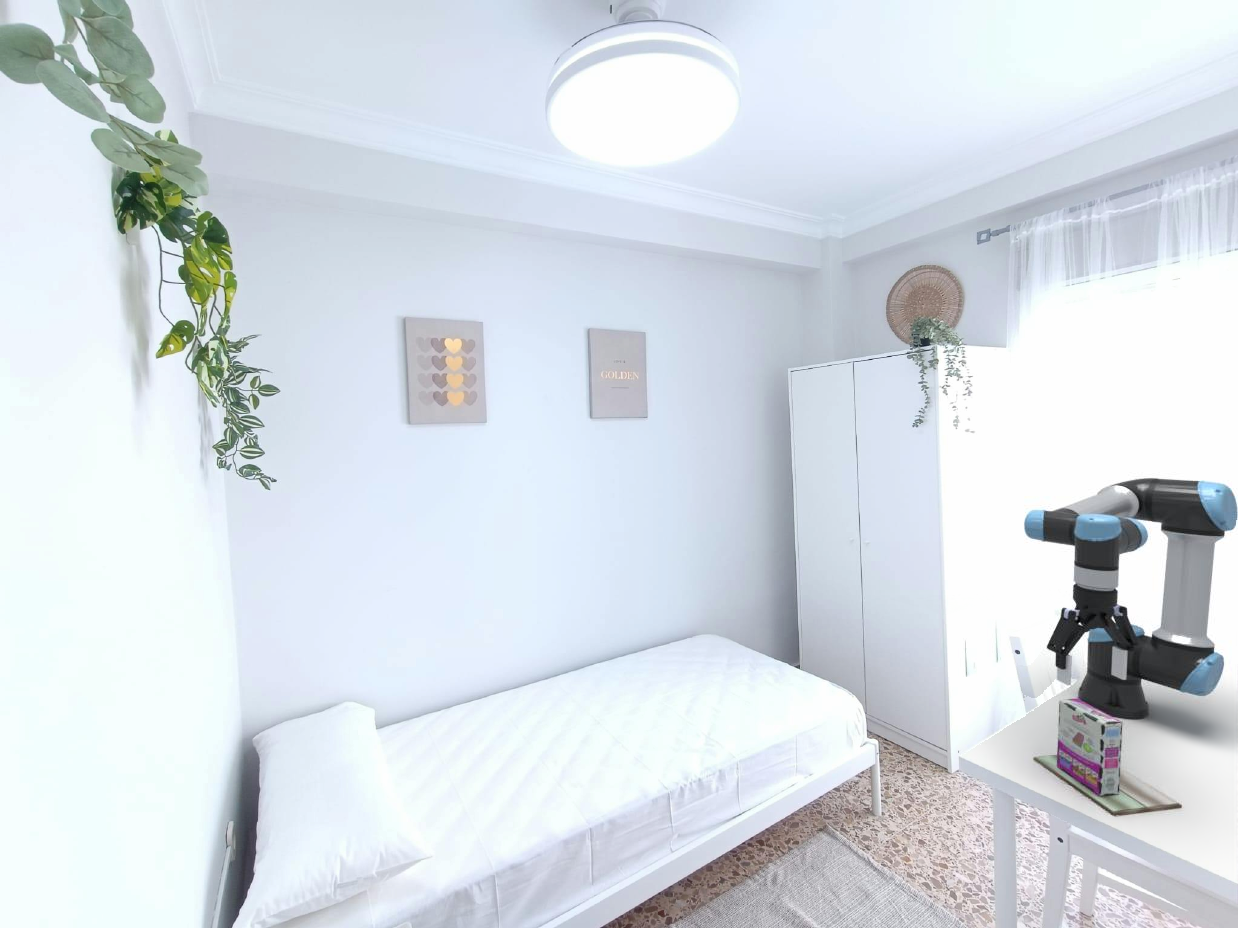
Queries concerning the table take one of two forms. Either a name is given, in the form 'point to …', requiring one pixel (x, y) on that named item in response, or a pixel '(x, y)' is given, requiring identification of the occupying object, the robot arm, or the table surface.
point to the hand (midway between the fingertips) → (1091, 679)
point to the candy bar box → (1089, 746)
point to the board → (1131, 792)
